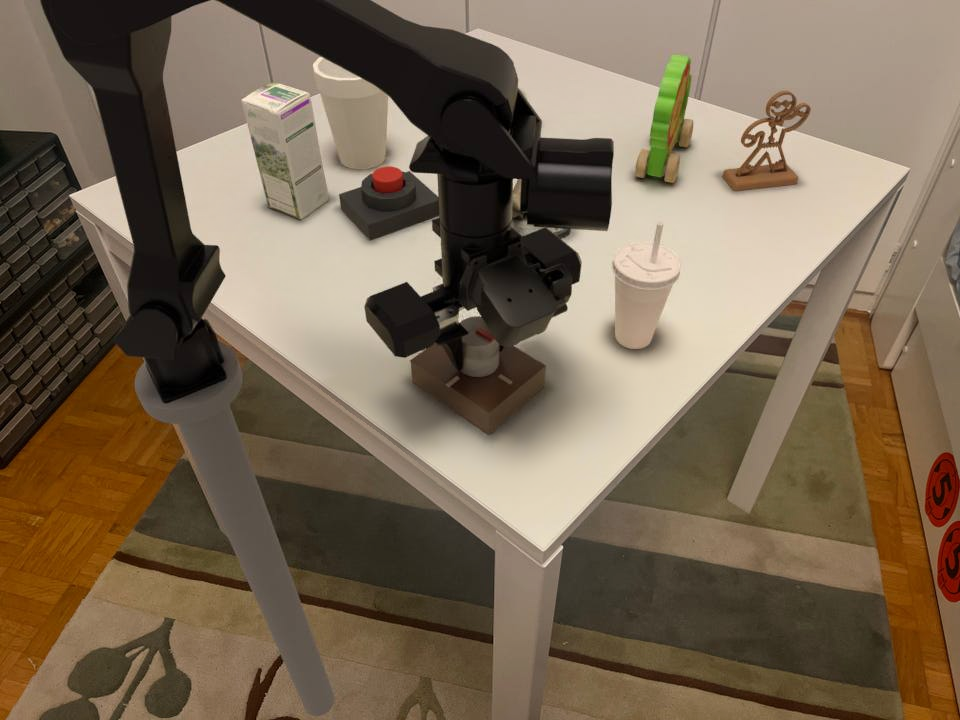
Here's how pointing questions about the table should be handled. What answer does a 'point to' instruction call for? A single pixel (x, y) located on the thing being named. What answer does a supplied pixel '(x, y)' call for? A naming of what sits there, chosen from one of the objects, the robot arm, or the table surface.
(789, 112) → the brown wooden figure
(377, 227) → the block
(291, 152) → the syrup box
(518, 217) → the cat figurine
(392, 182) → the button
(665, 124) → the toy lion
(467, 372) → the heat knob
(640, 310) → the smoothie
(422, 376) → the panel
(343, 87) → the foam cup
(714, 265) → the table surface
